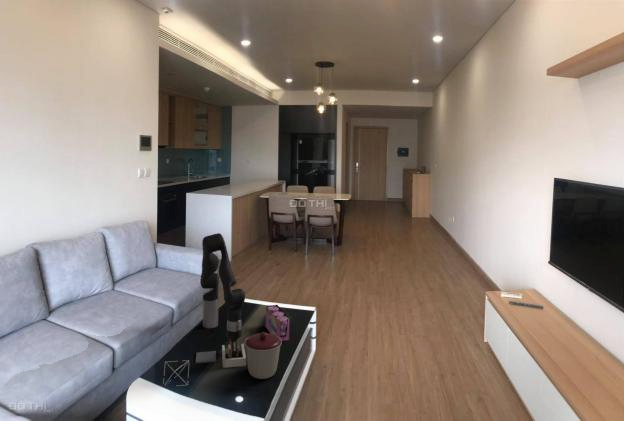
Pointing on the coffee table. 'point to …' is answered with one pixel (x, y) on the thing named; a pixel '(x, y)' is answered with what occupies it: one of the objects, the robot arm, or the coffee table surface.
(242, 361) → the grey arch handle
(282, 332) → the gum box
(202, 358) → the slate coaster
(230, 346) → the terracotta block
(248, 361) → the canister
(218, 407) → the coffee table surface
